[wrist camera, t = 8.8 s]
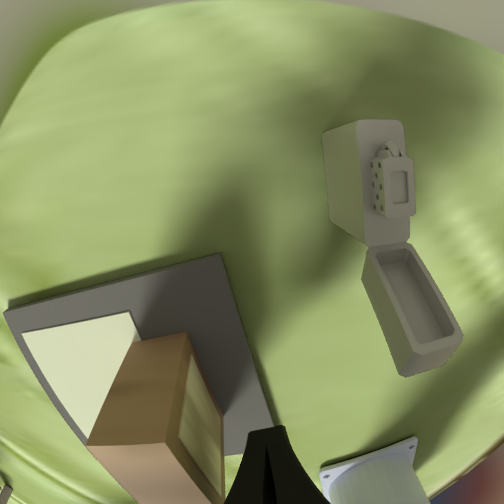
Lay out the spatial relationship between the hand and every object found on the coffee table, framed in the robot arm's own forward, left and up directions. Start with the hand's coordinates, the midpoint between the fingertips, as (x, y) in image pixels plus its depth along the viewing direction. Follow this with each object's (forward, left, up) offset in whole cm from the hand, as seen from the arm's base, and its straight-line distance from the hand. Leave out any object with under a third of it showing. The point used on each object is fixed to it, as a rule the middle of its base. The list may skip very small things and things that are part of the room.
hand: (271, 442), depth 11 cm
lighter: (+7, -6, -6) cm, 11 cm away
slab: (0, +4, -5) cm, 7 cm away
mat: (0, +7, -5) cm, 9 cm away
